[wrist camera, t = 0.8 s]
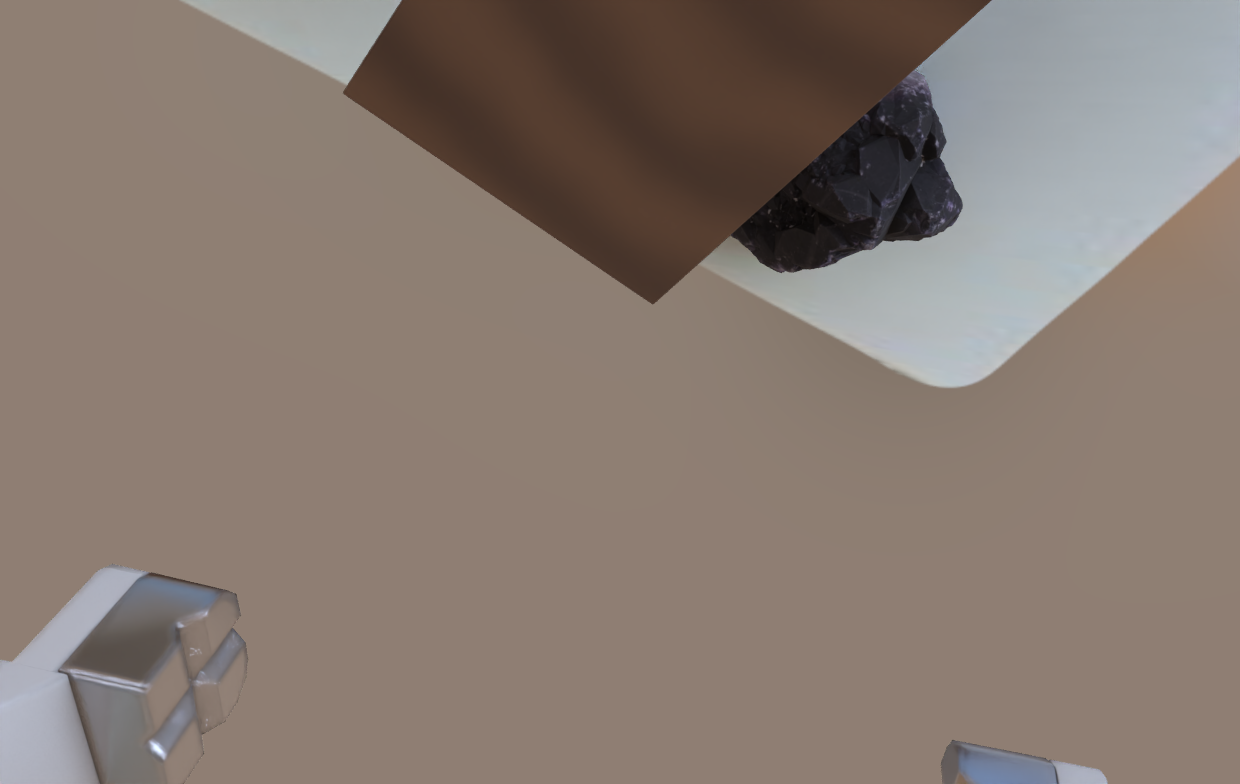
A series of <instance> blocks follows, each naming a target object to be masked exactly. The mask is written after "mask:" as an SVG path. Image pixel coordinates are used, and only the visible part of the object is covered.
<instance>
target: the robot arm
mask: <svg viewBox="0 0 1240 784" xmlns="http://www.w3.org/2000/svg"><path fill="white" fill-rule="evenodd" d="M240 616H241V613H240V608H239V603H238V600H237V595H236V594H235V593H233V592H230V591H227V590H223V589H219V588H215V587H211V586H207V585H202V584H198V583H194V582H190V581H185V580H181V579H177V578H173V577H169V576H164V575H160V574H156V573H150V572H145V571H141V570H136V569H132V568H127V567H123V566H119V565H115V564H111V565H109V566H107V567H105V568H102V569H101V570H99V571H97V572H96V573H95V574H94V575H93V576H92V577H91V578H90V580H89V581H88V582H87V583H86V584H85V585H84V586H83V587H82V588H81V589H80V590H79V591H78V592H77V593H76V594H75V595H74V596H73V598H72V599H71V600H70V601H69V602H68V603H67V604H66V605H65V606H64V607H63V608H62V609H61V610H60V611H59V612H58V613H57V615H56V616H55V617H54V618H53V619H52V620H51V621H50V622H49V623H48V624H47V625H46V626H45V627H44V629H42V630H41V632H40V633H39V634H38V635H37V636H36V637H35V638H34V639H33V640H32V641H31V642H30V643H29V644H28V645H27V646H26V648H25V649H24V650H23V651H22V652H21V653H20V654H19V655H18V656H17V657H16V658H15V659H14V660H13V661H12V662H10V661H4V660H0V784H184V783H185V781H186V780H187V778H188V777H189V775H190V774H191V772H192V771H193V769H194V767H195V766H196V765H197V763H198V762H199V760H200V759H201V757H202V756H203V754H204V748H203V740H202V734H204V733H206V732H207V731H209V730H211V729H213V728H215V727H217V726H218V725H220V724H222V723H224V722H225V721H226V719H227V717H228V716H229V714H230V713H231V711H232V710H233V708H234V706H235V705H236V703H237V702H238V699H239V696H240V693H241V690H242V688H243V685H244V682H245V679H246V674H247V663H248V656H247V648H246V643H245V642H244V640H243V639H242V638H241V637H240V636H239V635H238V633H237V632H236V631H235V630H234V629H233V628H232V627H233V626H234V624H235V623H236V621H237V620H238V619H239V617H240ZM941 773H942V784H1107V779H1106V778H1105V776H1104V775H1103V773H1102V772H1101V771H1100V770H1098V769H1094V768H1089V767H1083V766H1079V765H1074V764H1069V763H1064V762H1059V761H1055V760H1047V759H1046V758H1042V757H1036V756H1032V755H1027V754H1022V753H1017V752H1011V751H1006V750H1001V749H996V748H991V747H985V746H980V745H976V744H970V743H966V742H960V741H955V740H952V741H951V742H950V744H949V745H948V746H947V748H946V751H945V753H944V756H943V759H942V761H941Z"/></svg>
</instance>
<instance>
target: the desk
mask: <svg viewBox="0 0 1240 784" xmlns="http://www.w3.org/2000/svg"><path fill="white" fill-rule="evenodd" d="M990 1H991V0H402V1H401V2H400V4H399V5H398V7H397V8H396V10H395V12H394V13H393V15H392V16H391V18H390V19H389V21H388V22H387V24H386V26H385V27H384V29H383V30H382V32H381V33H380V35H379V36H378V38H377V40H376V41H375V43H374V44H373V46H372V47H371V49H370V50H369V52H368V54H367V55H366V57H365V58H364V60H363V61H362V63H361V64H360V66H359V68H358V69H357V71H356V72H355V74H354V75H353V77H352V79H351V80H350V82H349V83H348V85H347V87H346V88H345V90H344V92H343V93H344V94H345V95H346V96H347V97H349V98H350V99H352V100H353V101H355V102H356V103H358V104H359V105H361V106H362V107H364V108H365V109H366V110H368V111H369V112H371V113H372V114H374V115H375V116H377V117H378V118H380V119H381V120H383V121H384V122H386V123H387V124H388V125H390V126H391V127H393V128H394V129H396V130H397V131H399V132H400V133H402V134H403V135H405V136H406V137H408V138H409V139H410V140H412V141H413V142H415V143H416V144H418V145H420V146H421V147H422V148H424V149H425V150H427V151H428V152H430V153H431V154H432V155H434V156H435V157H437V158H438V159H440V160H441V161H443V162H444V163H446V164H447V165H449V166H450V167H452V168H453V169H455V170H456V171H457V172H459V173H460V174H462V175H463V176H465V177H466V178H468V179H469V180H471V181H472V182H474V183H475V184H477V185H478V186H480V187H481V188H482V189H484V190H485V191H487V192H488V193H490V194H491V195H493V196H494V197H496V198H497V199H499V200H500V201H502V202H503V203H504V204H506V205H507V206H509V207H510V208H512V209H513V210H515V211H516V212H518V213H519V214H521V215H522V216H523V217H525V218H526V219H528V220H530V221H531V222H533V223H534V224H535V225H537V226H538V227H540V228H542V229H543V230H544V231H546V232H547V233H548V234H550V235H551V236H553V237H554V238H556V239H557V240H559V241H560V242H562V243H563V244H565V245H566V246H568V247H569V248H570V249H572V250H573V251H575V252H576V253H578V254H580V255H581V256H582V257H584V258H585V259H587V260H588V261H590V262H591V263H592V264H594V265H596V266H597V267H598V268H600V269H601V270H603V271H604V272H606V273H607V274H609V275H610V276H612V277H613V278H615V279H616V280H617V281H619V282H620V283H622V284H623V285H625V286H626V287H628V288H629V289H631V290H632V291H634V292H635V293H637V294H638V295H640V296H641V297H643V298H644V299H646V300H647V301H648V302H650V303H651V304H654V303H655V302H657V301H658V300H659V299H660V298H661V297H662V296H663V295H664V294H665V293H667V292H668V291H669V290H670V289H671V288H672V287H673V286H674V285H675V284H676V283H678V282H679V281H680V280H681V279H682V278H683V277H684V276H685V275H687V274H688V273H689V272H690V271H691V270H692V269H693V268H694V267H695V266H697V265H698V264H699V263H700V262H701V261H702V260H703V259H704V258H705V257H707V256H708V255H709V254H710V253H711V252H712V251H713V250H714V249H715V248H717V247H718V246H719V245H720V244H721V243H722V242H723V241H724V240H725V239H727V238H728V237H729V236H730V235H731V234H732V233H733V232H734V231H736V230H737V229H738V228H739V227H740V226H741V225H742V224H743V223H744V222H746V221H747V220H748V219H749V218H750V217H751V216H752V215H753V214H754V213H756V212H757V211H758V210H759V209H760V208H761V207H762V206H763V205H764V204H766V203H767V202H768V201H769V200H770V199H771V198H772V197H773V196H774V195H776V194H777V193H778V192H779V191H780V190H781V189H782V188H783V187H784V186H786V185H787V184H788V183H789V182H790V181H791V180H792V179H793V178H794V177H796V176H797V175H798V174H799V173H800V172H801V171H802V170H803V169H804V168H806V167H807V166H808V165H809V164H810V163H811V162H812V161H813V160H814V159H816V158H817V157H818V156H819V155H820V154H821V153H822V152H823V151H824V150H826V149H827V148H828V147H829V146H830V145H831V144H832V143H833V142H834V141H836V140H837V139H838V138H839V137H840V136H841V135H842V134H843V133H845V132H846V131H847V130H848V129H849V128H850V127H851V126H852V125H853V124H855V123H856V122H857V121H858V120H859V119H860V118H861V117H862V116H863V115H865V114H866V113H867V112H868V111H869V110H870V109H871V108H872V107H873V106H875V105H876V104H877V103H878V102H879V101H880V100H881V99H882V98H883V97H885V96H886V95H887V94H888V93H889V92H890V91H891V90H892V89H893V88H895V87H896V86H897V85H898V84H899V83H900V82H901V81H902V80H903V79H905V78H906V77H907V76H908V75H909V74H910V73H911V72H912V71H913V70H915V69H916V68H917V67H918V66H919V65H920V64H921V63H922V62H923V61H925V60H926V59H927V58H928V57H929V56H930V55H931V54H932V53H933V52H935V51H936V50H937V49H938V48H939V47H940V46H941V45H942V44H943V43H945V42H946V41H947V40H948V39H949V38H950V37H951V36H952V35H953V34H955V33H956V32H957V31H958V30H959V29H960V28H961V27H962V26H964V25H965V24H966V23H967V22H968V21H969V20H970V19H971V18H972V17H974V16H975V15H976V14H977V13H978V12H979V11H980V10H981V9H982V8H984V7H985V6H986V5H987V4H988V3H989V2H990Z"/></svg>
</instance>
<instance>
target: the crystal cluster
mask: <svg viewBox="0 0 1240 784" xmlns="http://www.w3.org/2000/svg"><path fill="white" fill-rule="evenodd" d="M945 144H946V139H945V136H944V134H943V128H942V125H941V123H940V122H939V117H938V116H937V114H936V112H935V110H934V109H933V104H932V99H931V93H930V90H929V87H928V84H927V82H926V80H925V78H924V76H923V75H921V74H920V73H918V72H916V71H914V70H913V71H912V72H911V73H910V74H909V75H908V76H907V77H906V78H905V79H903V80H902V81H901V82H900V83H899V84H898V85H897V86H896V87H895V88H893V89H892V90H891V91H890V92H889V93H888V94H887V95H886V96H885V97H883V98H882V99H881V100H880V101H879V102H878V103H877V104H876V105H875V106H873V107H872V108H871V109H870V110H869V111H868V112H867V113H866V114H865V115H863V116H862V117H861V118H860V119H859V120H858V121H857V122H856V123H855V124H853V125H852V126H851V127H850V128H849V129H848V130H847V131H846V132H845V133H843V134H842V135H841V136H840V137H839V138H838V139H837V140H836V141H834V142H833V143H832V144H831V145H830V146H829V147H828V148H827V149H826V150H824V151H823V152H822V153H821V154H820V155H819V156H818V157H817V158H816V159H814V160H813V161H812V162H811V163H810V164H809V165H808V166H807V167H806V168H804V169H803V170H802V171H801V172H800V173H799V174H798V175H797V176H796V177H794V178H793V179H792V180H791V181H790V182H789V183H788V184H787V185H786V186H784V187H783V188H782V189H781V190H780V191H779V192H778V193H777V194H776V195H774V196H773V197H772V198H771V199H770V200H769V201H768V202H767V203H766V204H764V205H763V206H762V207H761V208H760V209H759V210H758V211H757V212H756V213H754V214H753V215H752V216H751V217H750V218H749V219H748V220H747V221H746V222H744V223H743V224H742V225H741V226H740V227H739V228H738V229H737V230H736V231H734V232H733V233H732V234H731V236H732V237H734V238H736V239H738V240H739V241H740V242H741V243H742V244H743V245H744V246H745V247H746V248H748V249H749V250H750V251H751V252H752V254H753V255H754V256H756V257H757V259H758V260H759V262H760V263H762V264H764V265H766V266H767V267H769V268H771V269H773V270H775V271H777V272H780V273H782V272H785V271H787V272H796V271H800V270H802V269H815V268H820V267H825V266H828V265H831V264H834V263H836V262H837V261H839V260H840V259H841V258H844V257H846V256H849V255H851V254H854V253H856V252H859V251H861V250H872V249H873V248H875V247H876V246H877V245H878V244H880V243H881V242H882V241H883V240H884V241H892V242H894V241H895V240H900V241H902V240H912V241H919V240H921V239H923V238H927V237H932V236H935V235H937V234H938V233H939V232H943V231H944V230H945V229H946V228H947V227H949V226H952V225H953V224H954V223H955V221H956V220H957V218H958V216H959V214H960V212H961V209H962V206H963V204H962V200H961V198H960V196H959V194H958V193H957V192H956V190H955V189H954V185H953V182H952V181H951V178H950V177H949V175H948V172H947V171H946V169H945V166H944V163H943V162H942V160H941V159H940V155H941V152H942V150H943V148H944V146H945Z"/></svg>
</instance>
